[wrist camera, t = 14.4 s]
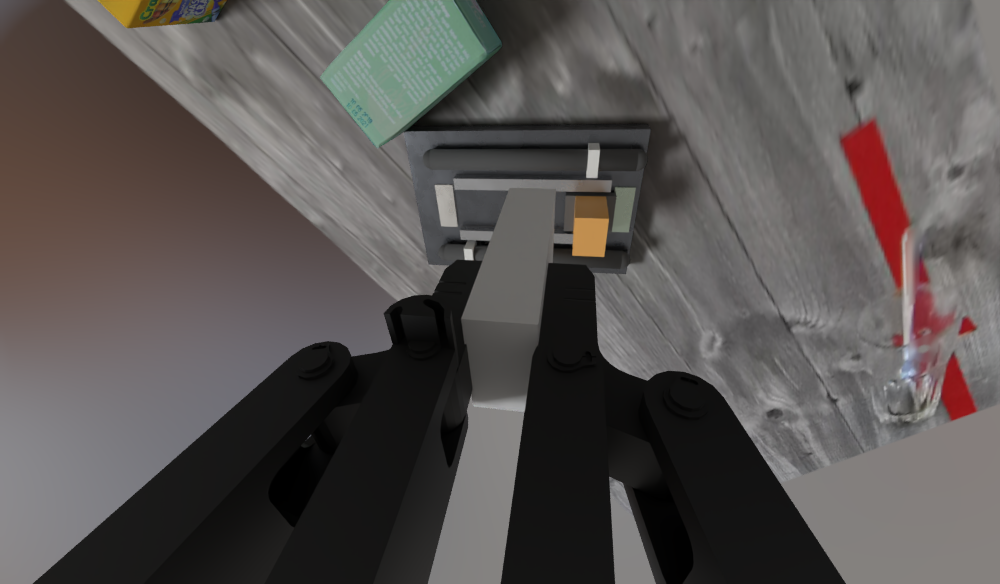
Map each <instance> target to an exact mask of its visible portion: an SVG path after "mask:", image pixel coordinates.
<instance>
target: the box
mask: <svg viewBox="0 0 1000 584" xmlns="http://www.w3.org/2000/svg"><path fill="white" fill-rule="evenodd" d="M501 47H502V43H501V40H500V39H499V37H498V36H497V34H496V32H495V31H494V29H493V27H492V26H491V24H490V22H489V21H488V19H487V18H486V16H485V14H484V13H483V11H482V9H481V8H480V6H479V5H478V3H477V1H476V0H389V1H388V2H387V4H386V5H385V6H384V7H383V8H382V9H381V10H380V11H379V12H378V13H377V14H376V16H375V17H374V18H373V19H372V20H371V21H370V22H369V23H368V24H367V25H366V26H365V27H364V28H363V30H362V31H361V32H360V33H359V34H358V35H357V36H356V37H355V38H354V39H353V40H352V41H351V42H350V43H349V44H348V46H347V47H346V48H345V49H344V50H343V51H342V52H341V53H340V54H339V55H338V56H337V57H336V58H335V60H334V61H333V62H332V63H331V64H330V65H329V66H328V68H327V69H326V70H325V71H324V73H323V74H322V75H321V77H320V79H321V80H322V81H323V82H324V83H325V85H326V86H327V87H328V88H329V90H330V91H331V92H332V93H333V95H334V96H335V97H336V98H337V100H338V101H339V102H340V103H341V105H342V106H343V107H344V108H345V110H346V111H347V112H348V113H349V115H350V116H351V117H352V118H353V119H354V121H355V122H356V123H357V124H358V126H359V127H360V128H361V129H362V131H363V132H364V133H365V134H366V136H367V137H368V138H369V139H370V141H371V142H372V143H373V145H374V146H375V147H377V148H379V147H380V146H382V145H384V144H385V143H387V142H389V141H390V140H392V139H394V138H395V137H397V136H398V135H400V134H401V133H403V132H404V131H405V130H407V129H408V128H409V127H411V126H412V125H413V124H414V123H415V122H416V121H418V120H419V119H420V118H421V117H422V116H423V115H425V114H426V113H427V112H428V111H429V110H431V109H432V108H433V107H434V106H435V105H436V104H438V103H439V102H440V101H441V100H442V99H443V98H445V97H446V96H447V95H448V94H449V93H450V92H451V91H453V90H454V89H455V88H456V87H457V86H459V85H460V84H461V83H462V82H463V81H464V80H465V79H467V78H468V77H469V76H470V75H471V74H472V73H473V72H475V71H476V70H477V69H478V68H479V67H480V66H482V65H483V64H484V63H485V62H486V61H487V60H488V59H490V58H491V57H492V56H493V55H494V54H495V53H496V52H498V51H499V49H500V48H501Z"/></svg>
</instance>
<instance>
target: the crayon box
mask: <svg viewBox="0 0 1000 584" xmlns="http://www.w3.org/2000/svg"><path fill="white" fill-rule="evenodd" d="M98 1H99V2H100V3H101V4H102V5H103V6H104V7H105V8H106V9H107V10H108V11H109V12H110V13H111V14H112V15H113V16H114V17H115V18H116V19H117V20H118V21H120V22H121V24H122V25H124V26H125V27H126V28H136V27H150V26H163V25H176V24H190V23H203V22H214V21H215V20H216V18H217V16H218V14H219V13H220V11H221V9H222V8H223V6H224V4H225V3H226V1H227V0H98Z"/></svg>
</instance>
